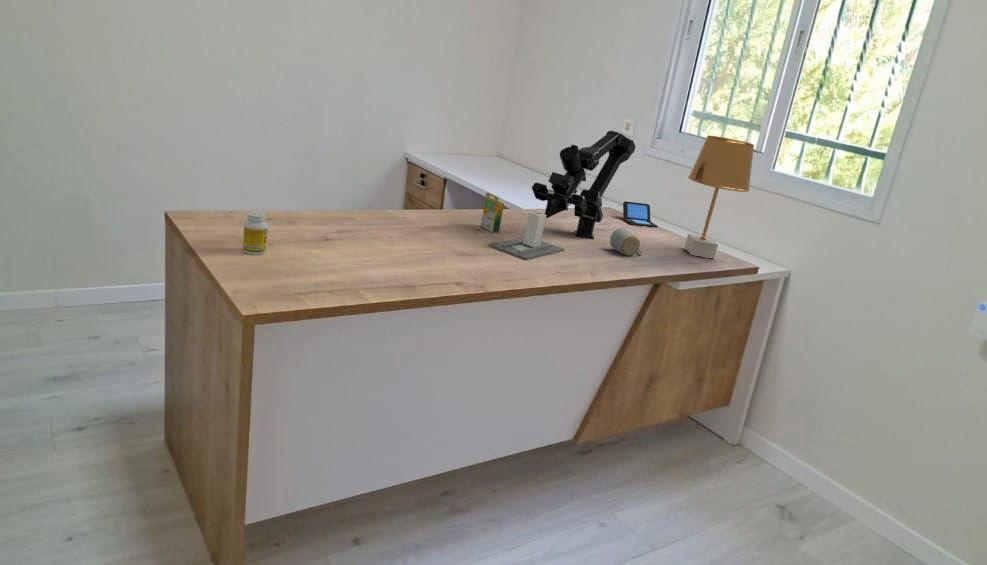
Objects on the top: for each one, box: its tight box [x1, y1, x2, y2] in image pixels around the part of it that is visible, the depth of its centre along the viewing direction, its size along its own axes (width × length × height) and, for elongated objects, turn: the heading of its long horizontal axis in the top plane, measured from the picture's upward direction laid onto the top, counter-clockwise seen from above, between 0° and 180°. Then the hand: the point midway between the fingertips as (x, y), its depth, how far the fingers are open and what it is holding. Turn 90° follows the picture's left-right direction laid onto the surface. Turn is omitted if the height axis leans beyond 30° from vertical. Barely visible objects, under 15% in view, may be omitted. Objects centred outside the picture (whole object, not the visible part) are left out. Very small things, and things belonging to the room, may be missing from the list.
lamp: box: [684, 135, 755, 259], centre depth 240 cm, size 21×21×41 cm
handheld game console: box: [622, 200, 658, 228], centre depth 278 cm, size 12×11×7 cm
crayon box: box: [480, 191, 505, 233], centre depth 227 cm, size 7×3×12 cm, turn 34°
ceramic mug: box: [609, 227, 644, 257], centre depth 229 cm, size 11×8×8 cm
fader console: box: [487, 236, 566, 261], centre depth 214 cm, size 22×14×1 cm, turn 143°
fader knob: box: [523, 211, 547, 247], centre depth 214 cm, size 4×4×10 cm
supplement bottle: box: [242, 211, 268, 256], centre depth 167 cm, size 5×5×10 cm
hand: (545, 217), depth 217 cm, fingers closed
